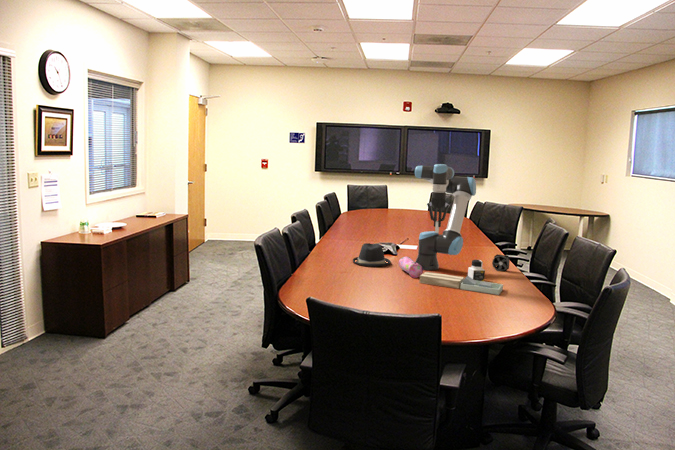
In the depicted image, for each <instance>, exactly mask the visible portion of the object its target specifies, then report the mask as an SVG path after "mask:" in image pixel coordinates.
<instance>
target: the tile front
mask: <svg viewBox="0 0 675 450" xmlns="http://www.w3.org/2000/svg"><path fill="white" fill-rule="evenodd" d="M486 282H487V281H484V282H481V283H480V284H479V286H480V287H487V288H492V283H493V282H490V283H486Z"/></svg>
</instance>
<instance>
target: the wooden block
mask: <svg viewBox="0 0 675 450" xmlns="http://www.w3.org/2000/svg"><path fill="white" fill-rule="evenodd" d="M464 279H465V276H459V275H451V274H445V273H444V274H443V273H438V272H432V271H425V272H423V273H422V275H420V276H419V281H418V282H419V284H423V285H424V284H427V285H432V286H439V287H445V288H451V289H457V290H460V286H461V283H462V282H463V280H464Z"/></svg>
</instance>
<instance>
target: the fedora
mask: <svg viewBox="0 0 675 450" xmlns="http://www.w3.org/2000/svg"><path fill="white" fill-rule="evenodd" d="M355 260H357V261H356V262H355ZM385 261H386V262H388V263H386V262H385ZM352 262H353V263H354V264H356V265H358V264H359V266H363V267H368V268H369V267H371V268H372V267H373V268H374V267H375V268H376V267H377V268H378V267H379V266H380V267H384V266H385V267H386V266H388V265H390V264H391V262H392V261H391V260H390V259H388V258H387V257H385V252H384V249H383V247H382V245H381V244H379V243H371V242H369V243H367V242H365V243H363V244H362V246H361V249H360V252H359V254H358V256H356V257H354V258H353V259H352Z"/></svg>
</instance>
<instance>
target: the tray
mask: <svg viewBox="0 0 675 450" xmlns="http://www.w3.org/2000/svg"><path fill="white" fill-rule="evenodd" d="M475 281H476V282H477V283H476V284H475V286H473V285H467V284H464V283H463V282H462V283H461V286H460V288H459V290H462V291H468V292H475V293H482V294H489V295H494V296H499V295H501V292H503V288H504V284H503V283H502V284H501V283H496V282H490V281H489V282H488V281H485V282H486V283H492V288H487V287H480V286H479V284H480V283H481V282H483V281H477V280H475Z"/></svg>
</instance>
